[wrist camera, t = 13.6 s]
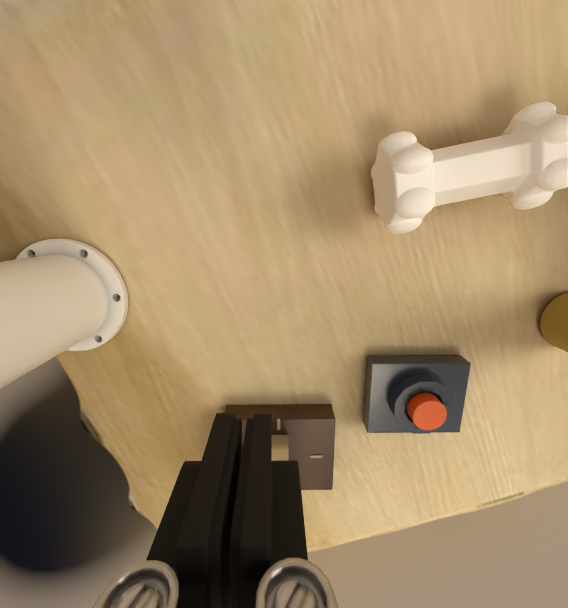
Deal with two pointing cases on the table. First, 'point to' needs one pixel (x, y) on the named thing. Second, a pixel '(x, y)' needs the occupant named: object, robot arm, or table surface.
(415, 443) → the table surface
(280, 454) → the beige block
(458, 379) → the button box
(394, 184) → the dog bone
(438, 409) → the button
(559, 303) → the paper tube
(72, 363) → the table surface
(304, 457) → the panel
